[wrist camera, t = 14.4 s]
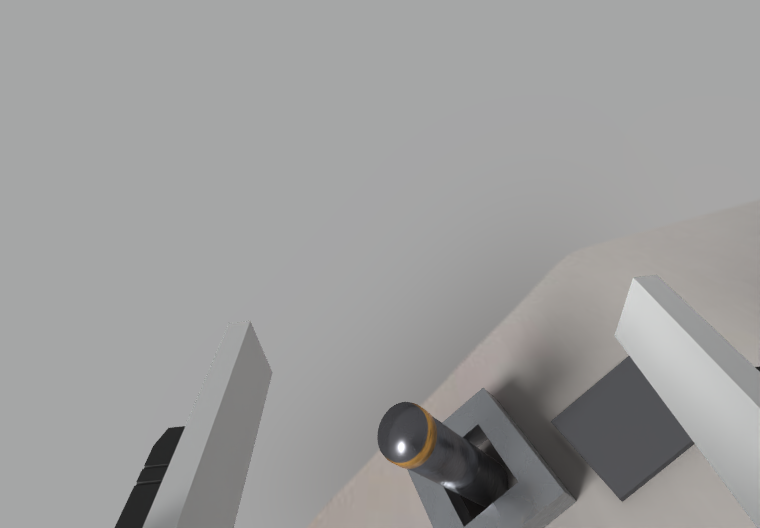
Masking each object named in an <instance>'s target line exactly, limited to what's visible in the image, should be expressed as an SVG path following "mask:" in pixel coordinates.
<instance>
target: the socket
mask: <svg viewBox="0 0 760 528" xmlns="http://www.w3.org/2000/svg"><path fill="white" fill-rule="evenodd" d="M442 424H444V425H445V426H447V427H448V428H450V429H451V430H453V431H454V432H456V433H457V434H458V435H460V436H461V437H463V438H464V439H466V440H467V441H469V442H470V443H471V444H473V445H474V446H476V447H478V446H480V445H481V444H482V443H483V442H484V441H486V440H487V439H489V440H490V442H491V443H492V445H493V446H494V448H495V449H496V450H497V452H498V453H499V455H500V456H501V458H502V459H503V461H504V462H505V464H506V465H507V466H508V468H509V469H510V471H511V472H512V474H513V475H514V477H515V478H516V480H517V481H518V483H516V484H515V485H514V486H513V487H512V488H510V489H509V490H508V491H507V492H506V493H504V494H503V495H502V496H501V497H500V498H498V499H497V500H496V501H495V502H494V503H492V504H491V505H490V506H489V507H488V508H486V509H485V510H484V511H483V512H482V513H480V514H479V515H478V516H477V517H476V518H474V519H472V517H471V515H470V513H469V511H468V509H467V508H466V506H465V504H464V502H463V500H462V498H461V496H460V495H459V494H457V493H455V492H453V491H451V490H449V489H447V488H445V487H443V486H441V485H439V484H437V483H435V482H433V481H431V480H429V479H427V478H425V477H423V476H421V475H419V474H417V473H415V472H413V471H411V470H409V469H407V470H408V472H409V474H410V476H411V479H412V481H413V483H414V485H415V488H416V490H417V492H418V494H419V497H420V499H421V501H422V503H423V506H424V508H425V510H426V512H427V515H428V517H429V519H430V521H431V524H432V526H433V528H544V527H545V526H547V525H548V524H549V523H550V522H552V521H553V520H554V519H555V518H556V517H558V516H559V515H560V514H561V513H563V512H564V511H565V510H566V509H568V508H569V507H570V506H571V505H572V504H574V503H575V502H576V500H575V499H574V497H573V496H572V495H571V494H570V492H569V491H568V490H567V488H566V487H565V486H564V485H563V483H562V482H561V481H560V480H559V478H558V477H557V476H556V475H555V473H554V472H553V471H552V469H551V468H550V467H549V466H548V464H547V463H546V462H545V461H544V459H543V458H542V457H541V455H540V454H539V453H538V452H537V450H536V449H535V448H534V447H533V445H532V444H531V443H530V442H529V440H528V439H527V438H526V436H525V435H524V434H523V433H522V431H521V430H520V429H519V428H518V426H517V425H516V424H515V422H514V421H513V420H512V419H511V417H510V416H509V415H508V414H507V412H506V411H505V410H504V409H503V407H502V406H501V405H500V403H499V402H498V401H497V400H496V399H495V398H494V397H493V396H492V395H491V394H490V393H489V392H488V391H487V390H485V389H484V388H482V389H481V390H480V391H479V392H478V393H476V394H475V395H474V396H473V397H472V398H471V399H469V400H468V401H467V402H466V403H465V404H464V405H462V406H461V407H460V408H459V409H458V410H457V411H455V412H454V413H453V414H452V415H451V416H450V417H448V418H447V419H446V420H445V421H444V422H443V423H442Z"/></svg>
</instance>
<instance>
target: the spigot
mask: <svg viewBox="0 0 760 528" xmlns="http://www.w3.org/2000/svg"><path fill="white" fill-rule="evenodd" d="M378 445H379V448H380V450H381V452H382V454H383V455H384V456H385V457H386V458H387V460H389V461H390V462H392V463H394V464H396V465H398V466H400V467H402V468H406V469H409V470H411V471H413V472H415V473H417V474H419V475H421V476H423V477H425V478H427V479H429V480H431V481H433V482H435V483H437V484H439V485H441V486H443V487H445V488H447V489H449V490H451V491H453V492H455V493H457V494H459V495H461V496H463V497H465V498H467V499H469V500H471V501H473V502H475V503H477V504H479V505H481V506H484V507H489V506H490V505H491V504H492V503H494V502H495V501H496V500H497V499H498V498H500V497H501V496H502V495H503V494H504V493H506V492H507V491H508V476H507V473H506V471H505V469H504V468H503V466H502V465H501V464H500V463H499V462H498V461H496V460H495V459H493V458H492V457H490V456H489V455H487V454H486V453H485V452H483V451H482V450H480V449H479V448H477V447H476V446H474V445H473V444H471V443H470V442H469V441H467V440H466V439H464V438H463V437H461V436H460V435H458V434H457V433H456V432H454V431H453V430H451V429H450V428H448V427H447V426H445V425H444V424H442V423H441V422H440V421H438V420H437V419H435V418H434V417H432V416H431V415H430V413H428V412H427V411H426V410H424V409H423V408H422V407H420V406H419V405H417V404H414V403H410V402H402V403H398V404H396V405H394V406H393V407H391V408H390V409H389V410H388V411H387V412H386V414H385V415H384V417H383V419H382V420H381V423H380V425H379V429H378Z"/></svg>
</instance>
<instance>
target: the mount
mask: <svg viewBox="0 0 760 528" xmlns="http://www.w3.org/2000/svg"><path fill="white" fill-rule="evenodd" d="M551 422H552V423H553V425H554V426H555V427H556V428H557V429H558V430H559V431H560V432H561V434H562V435H563V436H564V437H565V438H566V439H567V440H568V441H569V443H570V444H571V445H572V446H573V447H574V448H575V449H576V450H577V452H578V453H579V454H580V455H581V456H582V457H583V458H584V459H585V461H586V462H587V463H588V464H589V465H590V466H591V467H592V469H593V470H594V471H595V472H596V473H597V474H598V475H599V476H600V478H601V479H602V480H603V481H604V482H605V483H606V484H607V485H608V487H609V488H610V489H611V490H612V491H613V492H614V493H615V494H616V496H617V497H618V498H619V499H620V500H621V501H622V502H623V501H624V500H625V499H626V498H628V497H629V496H630V495H631V494H633V493H634V492H635V491H636V490H638V489H639V488H640V487H641V486H643V485H644V484H645V483H646V482H648V481H649V480H650V479H651V478H653V477H654V476H655V475H656V474H658V473H659V472H660V471H661V470H662V469H664V468H665V467H666V466H667V465H669V464H670V463H671V462H672V461H674V460H675V459H676V458H677V457H679V456H680V455H681V454H682V453H684V452H685V451H686V450H687V449H689V448H690V447H691V446H692V445H694V444H695V443H694V442H693V441H692V439H691V438H690V436H689V435H688V434H687V432H686V431H685V430H684V428H683V427H682V426H681V424H680V423H679V422H678V420H677V419H676V418H675V416H674V415H673V414H672V412H671V411H670V410H669V408H668V407H667V406H666V404H665V403H664V402H663V400H662V399H661V397H660V396H659V395H658V393H657V392H656V391H655V389H654V388H653V387H652V385H651V384H650V383H649V381H648V380H647V379H646V377H645V376H644V375H643V373H642V372H641V371H640V369H639V368H638V367H637V365H636V364H635V363H634V361H633V360H632V358H631V357H630V356H628V357H627V358H626V359H625V360H624V361H622V362H621V363H620V364H619V365H618V366H616V367H615V368H614V369H613V370H612V371H611V372H609V373H608V374H607V375H606V376H605V377H603V378H602V379H601V380H600V381H599V382H597V383H596V384H595V385H594V386H593V387H591V388H590V389H589V390H588V391H587V392H585V393H584V394H583V395H582V396H581V397H579V398H578V399H577V400H576V401H575V402H574V403H572V404H571V405H570V406H569V407H568V408H566V409H565V410H564V411H563V412H562V413H560V414H559V415H558V416H557V417H556V418H554V419H553V420H552V421H551Z"/></svg>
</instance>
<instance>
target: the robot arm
mask: <svg viewBox="0 0 760 528" xmlns="http://www.w3.org/2000/svg"><path fill="white" fill-rule="evenodd" d="M615 337H616V338H617V340H618V341H619V342H620V344H621V345H622V346H623V348H624V349H625V350H626V352H627V353H628V354H629V356H630V357H631V358H632V360H633V361H634V363H635V364H636V365H637V367H638V368H639V369H640V371H641V372H642V373H643V375H644V376H645V377H646V379H647V380H648V381H649V383H650V384H651V385H652V387H653V388H654V389H655V391H656V392H657V393H658V395H659V396H660V397H661V399H662V400H663V402H664V403H665V404H666V406H667V407H668V408H669V410H670V411H671V412H672V414H673V415H674V416H675V418H676V419H677V420H678V422H679V423H680V424H681V426H682V427H683V428H684V430H685V431H686V432H687V434H688V435H689V436H690V438H691V439H692V441H693V442H694V443H695V445H696V446H697V447H698V449H699V450H700V451H701V453H702V454H703V455H704V457H705V458H706V459H707V461H708V462H709V463H710V465H711V466H712V467H713V469H714V470H715V471H716V473H717V474H718V476H719V477H720V478H721V480H722V481H723V482H724V484H725V485H726V486H727V488H728V489H729V490H730V492H731V493H732V494H733V496H734V497H735V498H736V500H737V501H738V502H739V504H740V505H741V506H742V508H743V509H744V510H745V512H746V513H747V515H748V516H749V517H750V519H751V520H752V521H753V523H754V524H755V525H756V527H757V528H760V367H754V366H753V365H752V364H751V363H750V362H749V361H748V360H747V359H746V358H745V357H744V356H743V355H741V354H740V353H739V352H738V351H737V350H736V349H735V348H734V347H733V346H732V345H731V344H730V343H729V342H728V341H727V340H726V339H724V338H723V337H722V336H721V335H720V334H719V333H718V332H717V331H716V330H715V329H714V328H713V327H712V326H711V325H710V324H709V323H707V322H706V321H705V320H704V319H703V318H702V317H701V316H700V315H699V314H698V313H697V312H696V311H695V310H694V309H693V308H692V307H690V306H689V305H688V304H687V303H686V302H685V301H684V300H683V299H682V298H681V297H680V296H679V295H678V294H677V293H676V292H675V291H673V290H672V289H671V288H670V287H669V286H668V285H667V284H666V283H665V282H664V281H663V280H662V279H661V278H660V277H659V276H658V275H651V276H642V277H633V280H632V283H631V287H630V290H629V293H628V296H627V299H626V302H625V305H624V308H623V311H622V314H621V317H620V321H619V324H618V327H617V330H616V333H615ZM271 376H272V371H271V369H270V366H269V364H268V361H267V359H266V357H265V354H264V352H263V350H262V347H261V345H260V343H259V340H258V338H257V336H256V333H255V331H254V329H253V327H252V324H251V322H250V321H246V322H237V323H229V324H228V327H227V329H226V331H225V334H224V336H223V338H222V341H221V343H220V345H219V348H218V350H217V353H216V355H215V357H214V360H213V362H212V364H211V367H210V369H209V372H208V374H207V376H206V379H205V381H204V383H203V386H202V388H201V391H200V393H199V395H198V398H197V400H196V402H195V405H194V407H193V409H192V412H191V414H190V417H189V419H188V421H187V424H186V426H183V427H174V428H168V429H167V430H166V432H165V433H164V434H163V435H162V436H161V438H160V439H159V440H158V441H157V442H156V444H155V445H154V446H153V448H152V450H151V453H150V455H149V457H148V459H147V461H146V463H145V468H144V469H143V470H142V471H141V473H140V476H139V478H138V480H137V485H136V486H134V488H133V490H132V492H131V494H130V497H129V499H128V501H127V503H126V505H125V507H124V509H123V511H122V514H121V516H120V518H119V520H118V522H117V524H116V526H115V528H234V524H235V520H236V515H237V512H238V508H239V504H240V500H241V496H242V492H243V488H244V484H245V480H246V476H247V472H248V468H249V464H250V460H251V456H252V452H253V448H254V444H255V440H256V436H257V432H258V428H259V424H260V420H261V416H262V412H263V408H264V404H265V400H266V395H267V391H268V388H269V384H270V380H271Z"/></svg>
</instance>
